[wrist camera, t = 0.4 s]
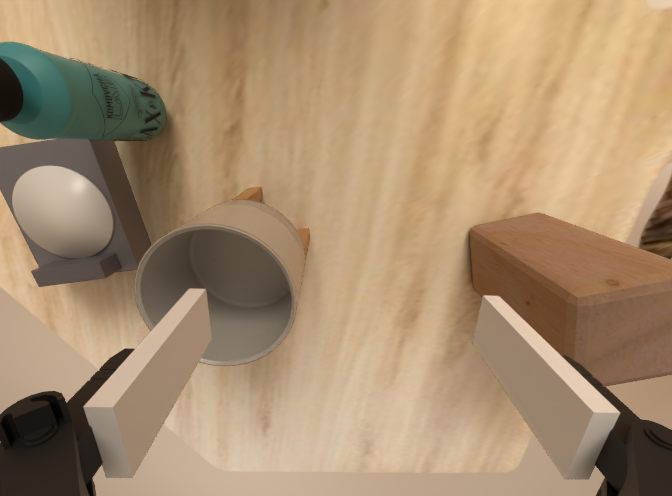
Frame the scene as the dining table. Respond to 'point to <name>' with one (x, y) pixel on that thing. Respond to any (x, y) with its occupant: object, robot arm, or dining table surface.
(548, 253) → the wooden block
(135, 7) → the dining table surface
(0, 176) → the domed button base
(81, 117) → the beverage bottle
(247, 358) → the planter
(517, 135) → the dining table surface
